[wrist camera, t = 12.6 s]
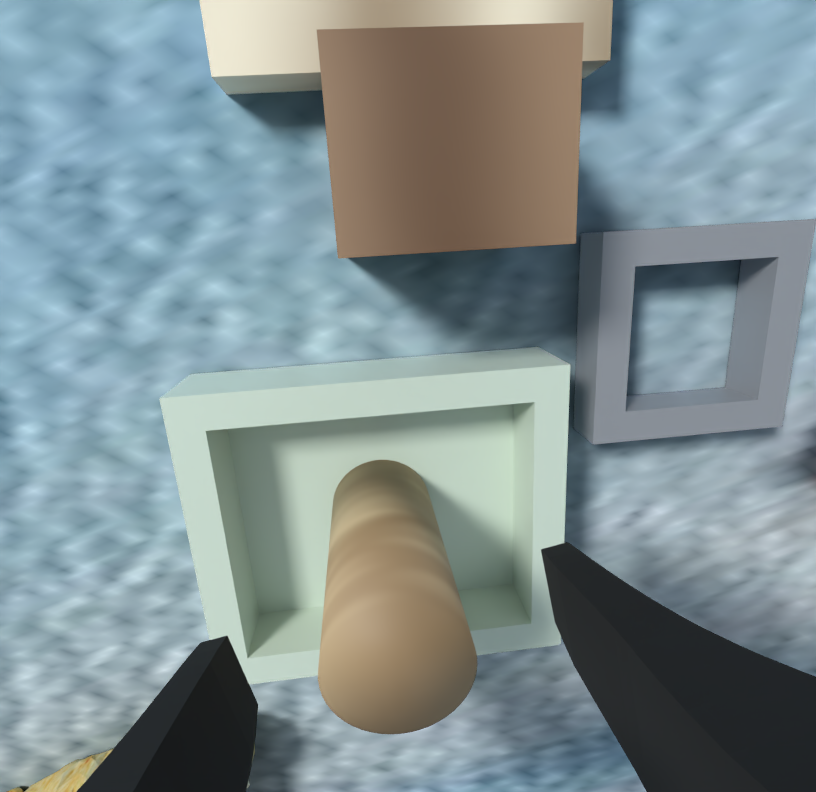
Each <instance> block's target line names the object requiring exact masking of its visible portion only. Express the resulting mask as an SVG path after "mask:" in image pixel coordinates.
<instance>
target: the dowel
mask: <svg viewBox="0 0 816 792" xmlns="http://www.w3.org/2000/svg"><path fill="white" fill-rule="evenodd" d="M476 672H477V654H476V650H475V646H474V642H473V639H472V636H471V632H470V629H469V626H468V623H467V619H466V616H465V613H464V609H463V606H462V603H461V599H460V596H459V593H458V589H457V586H456V583H455V579H454V576H453V573H452V569H451V566H450V563H449V560H448V556H447V553H446V550H445V546H444V543H443V540H442V536H441V533H440V530H439V526H438V523H437V520H436V516H435V513H434V510H433V506H432V503H431V500H430V496H429V493H428V490H427V487H426V485H425V483H424V481H423V480H422V478H421V477H420V476H419V475H418V474H417V473H416V472H415V471H414V470H413V469H412V468H410V467H408V466H407V465H405V464H402V463H400V462H396V461H392V460H373V461H369V462H366V463H363V464H361V465H359V466H357V467H355V468H354V469H352V470H351V471H349V472H348V473H347V474H346V475H345V476H344V477H343V479H342V480H341V481H340V483H339V484H338V486H337V488H336V491H335V494H334V498H333V507H332V519H331V530H330V541H329V552H328V564H327V575H326V586H325V598H324V609H323V620H322V632H321V643H320V654H319V665H318V682H319V688H320V691H321V694H322V696H323V698H324V700H325V702H326V704H327V705H328V706H329V708H330V709H331V710H332V711H333V712H334V713H335V714H336V715H337V716H338V717H339V718H341V719H342V720H343V721H345V722H346V723H348V724H350V725H352V726H354V727H356V728H359V729H361V730H365V731H369V732H373V733H380V734H401V733H408V732H413V731H417V730H420V729H423V728H426V727H428V726H431V725H433V724H435V723H437V722H439V721H440V720H442V719H443V718H445V717H447V716H448V715H449V714H450V713H452V712H453V711H454V710H455V709H456V708H457V707H458V706H459V705H460V704H461V703H462V702H463V700H464V699H465V698H466V696H467V695H468V693H469V691H470V690H471V688H472V685H473V683H474V680H475V676H476Z"/></svg>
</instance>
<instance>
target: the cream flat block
mask: <svg viewBox="0 0 816 792" xmlns="http://www.w3.org/2000/svg"><path fill="white" fill-rule="evenodd" d="M200 6H201V12H202V19H203V25H204V31H205V38H206V44H207V50H208V57H209V63H210V69H211V76H212V78H213V79H214V80H215V81H216V83H217V84H218V85H219V86H220V87H221V88H222V90H223V91H224V92H225V93H226V94H227V95H228V94H250V93H272V92H294V91H316V90H322V82H321V72H320V61H319V50H318V40H317V29H354V28H392V27H430V26H468V25H505V24H543V23H581V22H584V29H583V57H582V78H586V77H587V76H589V75H590V74H592V73H593V72H594V71H596V70H597V69H598V68H600V67H601V66H603V65H604V64H605V63H607V62H608V61H610V56H611V33H612V10H613V0H200Z"/></svg>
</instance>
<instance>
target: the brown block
mask: <svg viewBox="0 0 816 792" xmlns="http://www.w3.org/2000/svg"><path fill="white" fill-rule="evenodd" d="M583 29H584V22H581V23H543V24H505V25H468V26H430V27H392V28H354V29H317V40H318V50H319V61H320V72H321V82H322V93H323V103H324V114H325V124H326V135H327V146H328V156H329V167H330V177H331V188H332V199H333V209H334V220H335V230H336V241H337V252H338V258H352V257H368V256H384V255H400V254H416V253H432V252H448V251H464V250H481V249H497V248H513V247H529V246H545V245H561V244H576V226H577V198H578V170H579V142H580V114H581V85H582V57H583Z"/></svg>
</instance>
